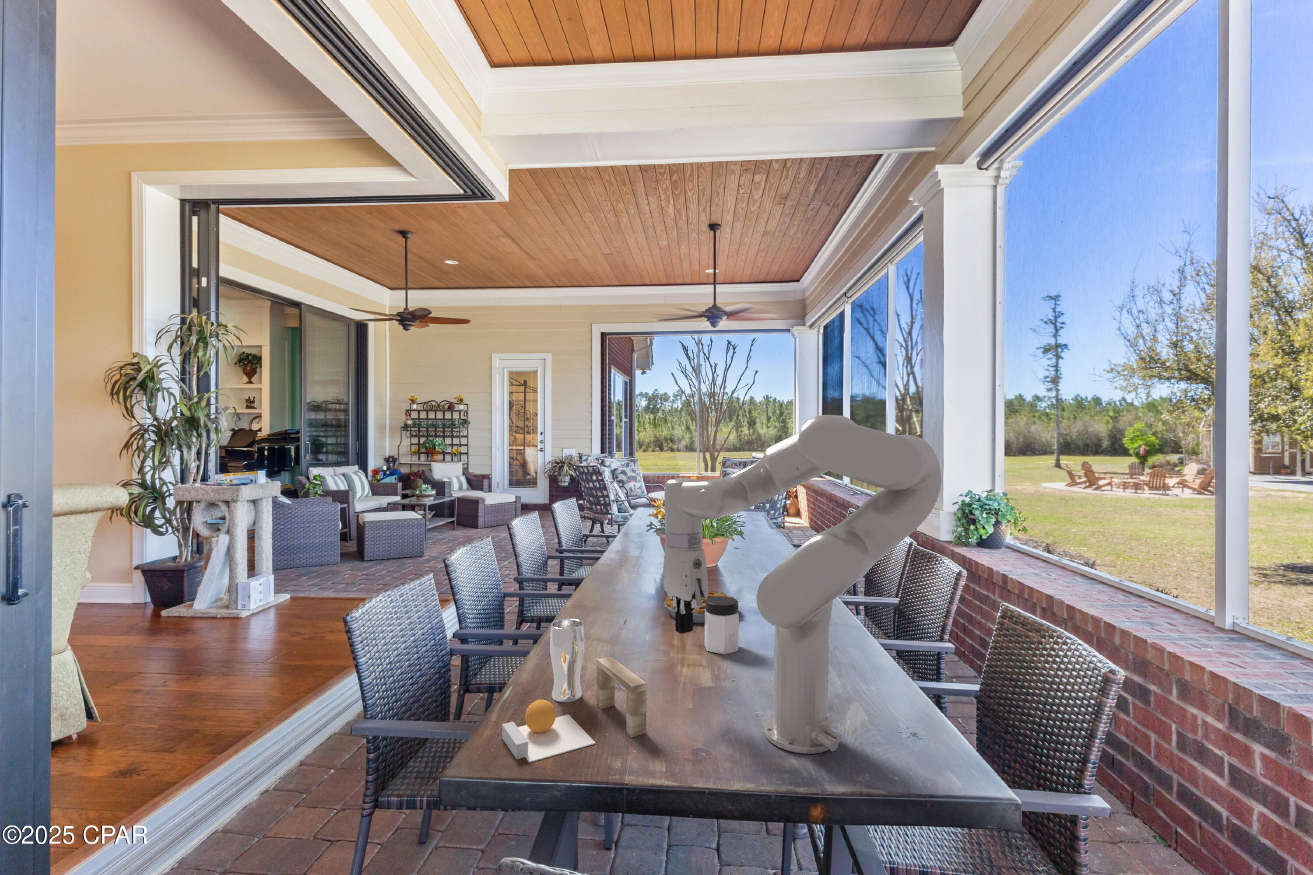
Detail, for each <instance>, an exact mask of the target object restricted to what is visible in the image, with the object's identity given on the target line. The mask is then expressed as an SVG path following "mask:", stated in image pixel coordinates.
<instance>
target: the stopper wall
mask: <svg viewBox="0 0 1313 875" xmlns="http://www.w3.org/2000/svg"><path fill="white" fill-rule="evenodd" d="M501 725H502V726H501V729H502V730H501V738H502V740H503V742H504V743H505V745H506V746H507V748H508V749H509V750H510V752H511V754H512V755H513V757H514V758H515V759H516V760H519V759H523V758H526V757H525V756H527V755H528V741H527V739H526V738H525V737H524V735H523V734H522V733H521V731H520V730H519V729H518V727H519V726H517V725H516V723H515V722H514V721H510V722H506V723H502V724H501Z"/></svg>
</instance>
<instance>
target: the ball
mask: <svg viewBox="0 0 1313 875" xmlns="http://www.w3.org/2000/svg"><path fill="white" fill-rule="evenodd" d="M556 712H557V711H556V708H555V707H554V704H552V703H551V702H550V701H549V700H545V699H537V700H535V701H533V702H532V703H530V704H529V705H528V706H527V708H526V711H525V715H524V720H525V725H527V726H528V728H529V729H530V730H532V731H533V732H536V733H542V732H545V731H547V730H549V729H550V728H551V727H552V726H553V724H554V722H555V719H556V717H557V713H556Z"/></svg>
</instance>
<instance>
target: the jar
mask: <svg viewBox="0 0 1313 875" xmlns="http://www.w3.org/2000/svg"><path fill="white" fill-rule="evenodd" d="M739 616H740V613H739V601H738V599H736V598H734V597H733V598H731V597H724V596H715V597H710V598H707V599H706V609H705V623H704V647H705V649H706V651H707V652H708V651H709V652H708V653H713V652H714V654H720V655H728V654H731V653H735V652H738V651H739V638H740V637H739V632H740V631H739V628H740V624H739V622H740V620H739V619H740V617H739Z"/></svg>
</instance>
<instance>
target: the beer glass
mask: <svg viewBox="0 0 1313 875" xmlns="http://www.w3.org/2000/svg"><path fill="white" fill-rule="evenodd" d="M549 634H550V635H549V636H550V637H549V638H550V639H549V653H550V661H551V666H552V673H553V686H552V693H551V699H553V700H554V701H555V702H558V703H572V702H576V701H578V700H579V699H581V698H582V696H583V695H582V694H583V693H582V688H581V670H582V665H583V660H584V654H585V653H584V652H585V629H584V621H582V620H581V619H578V618H577V619H576V618H561V619H557V620H553V621H552V622H551V624H550V633H549Z"/></svg>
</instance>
